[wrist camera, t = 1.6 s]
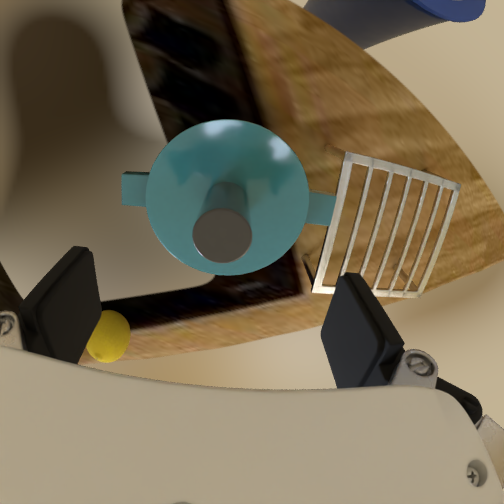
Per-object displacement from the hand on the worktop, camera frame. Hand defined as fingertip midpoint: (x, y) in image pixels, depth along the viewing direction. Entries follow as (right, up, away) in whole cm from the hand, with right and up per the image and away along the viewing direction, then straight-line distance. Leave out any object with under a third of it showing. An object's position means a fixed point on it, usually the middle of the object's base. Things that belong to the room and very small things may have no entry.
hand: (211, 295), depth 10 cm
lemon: (-16, -7, +24) cm, 30 cm away
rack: (+14, +6, +19) cm, 24 cm away
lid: (0, +5, +9) cm, 11 cm away
